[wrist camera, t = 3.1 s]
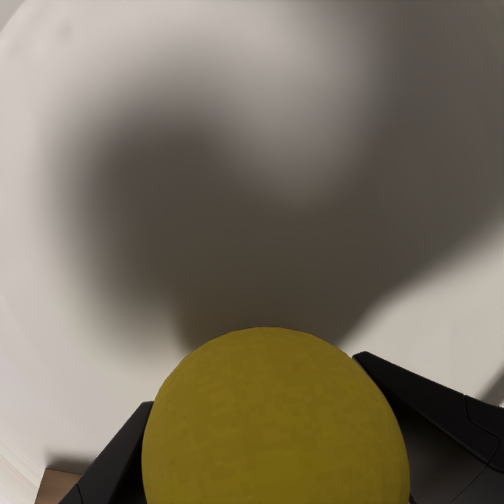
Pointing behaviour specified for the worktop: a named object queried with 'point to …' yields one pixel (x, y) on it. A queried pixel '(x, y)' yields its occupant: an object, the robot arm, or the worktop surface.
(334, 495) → the lemon
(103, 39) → the worktop surface
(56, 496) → the walnut box
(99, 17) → the worktop surface
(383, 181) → the worktop surface
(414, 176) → the worktop surface
